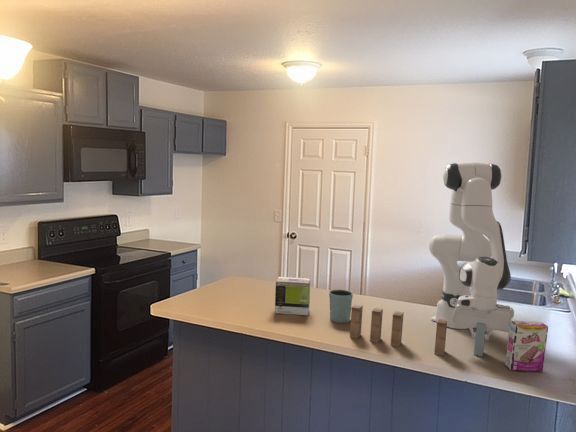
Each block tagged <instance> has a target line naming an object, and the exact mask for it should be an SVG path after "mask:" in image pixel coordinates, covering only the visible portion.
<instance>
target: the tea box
mask: <svg viewBox="0 0 576 432" xmlns="http://www.w3.org/2000/svg"><path fill="white" fill-rule="evenodd" d="M274 294H275V295H274V296H275V297H274V298H275V299H274V314H284V315H299V316H309V311H310V300H311V299H310V298H311V278H308V277H307V278H306V277H304V278H303V277H291V276H290V277H288V276H278V278H277V279H276V281H275V292H274Z"/></svg>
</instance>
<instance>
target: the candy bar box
mask: <svg viewBox="0 0 576 432" xmlns="http://www.w3.org/2000/svg"><path fill="white" fill-rule="evenodd" d="M548 330H549V326H548V325H547V324H544V323H543V322H542V321H527V320H524V321H523V320H511V321H510V327H509V332H508V338H507V346H506V352H505V353H506V354H505V363H504V366H505V367H506V368H508V370H510V371H511V372H527V373H528V372H530V373H542V372H543V370H544V363H545V362H544V361H545V354H546V345H547V339H548Z"/></svg>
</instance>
